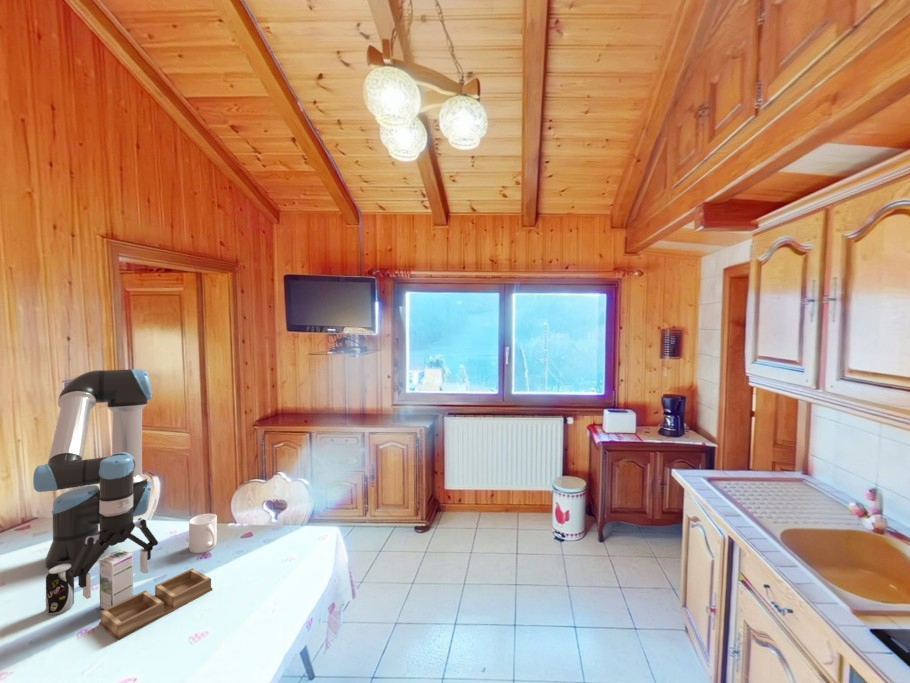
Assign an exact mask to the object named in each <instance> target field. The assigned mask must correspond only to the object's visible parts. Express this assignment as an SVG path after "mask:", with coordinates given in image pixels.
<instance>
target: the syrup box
mask: <svg viewBox="0 0 910 683" xmlns="http://www.w3.org/2000/svg"><path fill="white" fill-rule="evenodd" d="M133 555H134V554H133V553H132V552H128V551H125V550H121V549H119V550H115V551H114V552H112V553H109V554H107V555H106V556H103V557H102V558H100V559H98V560H99V565H98V566H99V608H100V609H102V610H105V609H107V608H109V607H111V606H113V605H115V604H117V603H119V602H122V601H124V600H126V599H128V598H130V597H132V596H134V565H133V564H134V558H133V557H134V556H133Z"/></svg>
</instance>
